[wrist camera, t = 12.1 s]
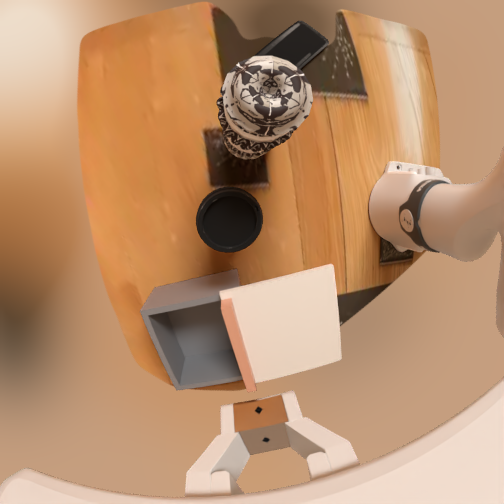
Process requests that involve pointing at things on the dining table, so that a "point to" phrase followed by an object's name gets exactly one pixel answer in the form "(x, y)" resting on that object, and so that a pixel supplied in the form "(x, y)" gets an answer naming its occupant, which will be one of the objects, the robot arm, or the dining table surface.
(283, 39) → the phone
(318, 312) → the lid
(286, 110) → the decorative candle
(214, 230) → the coffee cup
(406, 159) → the dining table surface
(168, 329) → the storage box
